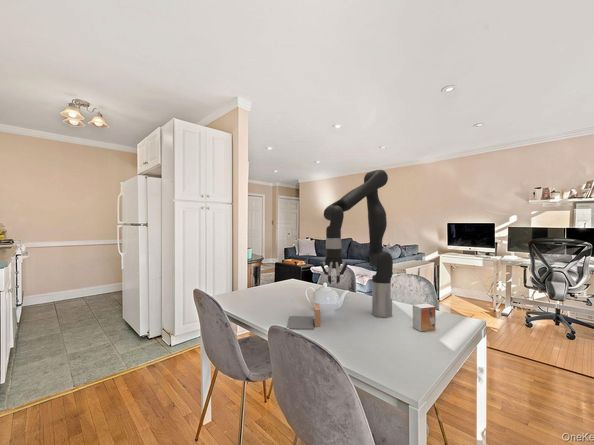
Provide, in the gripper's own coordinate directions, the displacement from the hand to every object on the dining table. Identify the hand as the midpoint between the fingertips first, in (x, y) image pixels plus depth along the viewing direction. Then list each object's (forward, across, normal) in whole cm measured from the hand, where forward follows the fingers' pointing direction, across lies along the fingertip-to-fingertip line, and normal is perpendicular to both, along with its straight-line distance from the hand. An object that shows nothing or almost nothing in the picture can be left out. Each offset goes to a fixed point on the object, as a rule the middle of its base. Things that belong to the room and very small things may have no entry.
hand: (333, 283), depth 128 cm
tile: (+19, +8, 0) cm, 21 cm away
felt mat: (+19, +16, 0) cm, 25 cm away
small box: (+19, -40, +6) cm, 45 cm away
